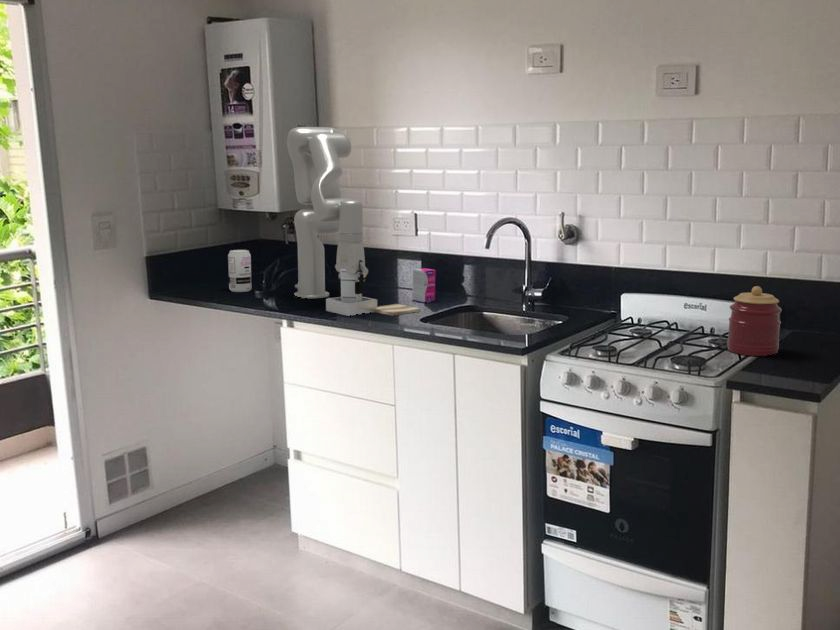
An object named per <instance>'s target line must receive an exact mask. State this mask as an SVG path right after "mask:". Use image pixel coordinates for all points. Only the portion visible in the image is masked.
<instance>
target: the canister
mask: <svg viewBox="0 0 840 630" xmlns="http://www.w3.org/2000/svg"><path fill="white" fill-rule="evenodd" d="M733 300H734V303H732V304H730V305H729V310H731V313H730V317H729V318H728V323H729V324H728V336H727V340H726V341H727V343H726V344H727V345H726V346H727V351H729V352H730V353H733V354H738V355H744V356H749V357H768V356H767V355H772V354H775V353H777V354H778V351H779V348H780V347H779V346H780V344H779V343H780V342H779V340H780V329H781V327H780V326H781V324H782V321H781V320H780V313H782V310H783V309H782V308H781V307H780V306H779V305H778V304H779V303H780V300H779V299H778V298H776V297H775V296H774V295H773V294H769V293H765V292H764V293H763V289H762V288H761V286H759V285H756V286H755V285H754V286H753V287H752V288H751V292H741V293H739V294H738V295H736V296H734V297H733ZM775 355H776V354H775ZM772 356H773V355H772Z"/></svg>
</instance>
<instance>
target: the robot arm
mask: <svg viewBox="0 0 840 630" xmlns="http://www.w3.org/2000/svg"><path fill="white" fill-rule="evenodd" d="M286 145H287V151H288V154H289V156H290V160H291V163H292V166H293V168H292V169H293V174H294V175H293V176H294V186H295V196H296V200H297V202H298V203H299V204H301V205H307V206H309V205H311V206H312V207H311V208H302V209H300V210H298V211H297V212H296V213H295V215H294V219H293V220H294V228H295V233H296V242H297V271H298V273H297V276H298V277H297V278H298V282H297V284H295V285H294V288H295V289H297V291H296V292H294V295H295V296H297V297H301V298H300V299H305V298H307V299H308V300H311V299H312V300H314V299H316V300H317V299H324V298H329V296H330V292H328V291H326V281H325V279H326V276H325V275H326V273H325V272H326V270H325V267H326V265H325V256H326V255H325V246H324V243H323V242H322V241H321V240H320V238H319V236H325V235H326V236H327V235H336V234H339V235H338V236H339V241H338V243H337V249H336V264H334V268H335V270H336V273H337V275H338V277H337V278H338V279H339V280H338V281H339V282H338V283H339V291H340V292H341V269H346V273H347V274H354V276H355V279H356V282H355V294H362V295H363V294H364V291H365V287H364V284H365V281H366V278H367V275H368V274H369V268H367V267H366V257H365V248H364V242H363V236H364V235H363V230H364V229H363V227H364V226H363V223H364V221H363V203H362V202H361V200H357V199H355V200H354V199H353V198H347V197H345V198H343V197H342V192H341V188H340V184H339V183H338V181H337V180H338V179H339V178H340V177H341V176H342V174H343V168H342V165H341V162H340V161H341V160H340V159H342V158H343V159H344V158H347V157H349V156H350V155H351V152H352V143H351V140H350V138H349V136H348V135H347V134H346V133H345V132H343V131H341V130H339V129H337V128H334V127H330V126H329V127H328V126H298V127H294V128H292V129H290V130H289V132H288V134H287V139H286ZM309 152H310V153H309ZM357 271H359V272H357ZM358 275H360V276H359V277H358ZM295 296H294V297H295ZM297 297H296V298H297Z"/></svg>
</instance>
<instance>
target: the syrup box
mask: <svg viewBox="0 0 840 630" xmlns="http://www.w3.org/2000/svg"><path fill="white" fill-rule="evenodd" d="M357 272H359V271H357ZM359 276H360V275H358V277H359ZM355 282H356V279H355V276H354V274H347V273H346V269H341V291H340V297H341V301H342V302H347V303H351V302H359V301H362V297H363V294H355Z"/></svg>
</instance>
